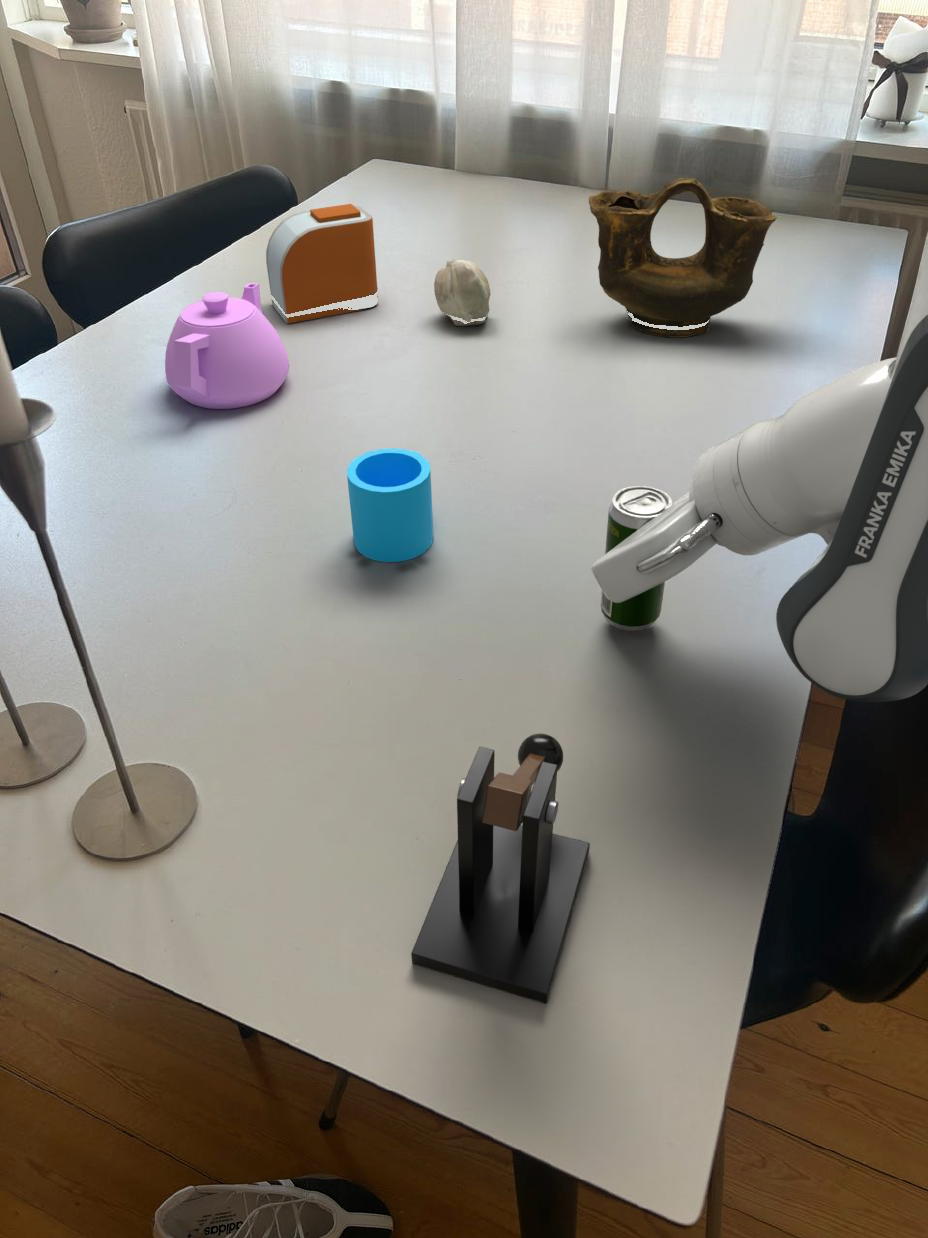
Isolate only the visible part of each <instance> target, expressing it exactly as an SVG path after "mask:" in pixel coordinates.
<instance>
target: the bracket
mask: <svg viewBox="0 0 928 1238" xmlns="http://www.w3.org/2000/svg"><path fill="white" fill-rule="evenodd" d="M557 769H558V765H555V764H551V763H547V762H542V763H541V766H540V769H539V772H538V774H537V777H536V780H535V782H534V784H533V785H532V788H531V794H530V797H529V800H528V803H527V805H526V808H525V811H524V814H523V822H522V824H521V825H520V827H519V828H518V830H517V831H513V830H509V829H505V828H501V827H498V826H494V825H490V824H486V823H482V818H483V812H484V805H485V799H486V793H487V787H488V785H489V784H490V783H491V781H492V780H493V779H494V778H495V749H492V748H488V747H484V746H479V747H478V749H477V751H476V753H475V755H474V758H473V760H472V763H471V764H470V767H469V770H468V772H467V775H466V777H465V778H462V779H461V780H460V783H459V786H458V790H457V794H456V795H457V796H456V811H457V812H456V817H457V818H456V820H457V840H456V843H455V845H454V847H453V850H452V853H451V855H450V858H449V860H448V862H447V865H446V867H445V870H444V871H443V872H444V873H443V875H442V878H441V880H440V882H439V885H438V887H437V890H436V892H435V894H434V897H433V899H432V901H431V904H430V906H429V909H428V911H427V914H426V916H425V919H424V920H423V923H422V925H421V928H420V931H419V934H418V936H417V938H416V941H415V942H414V945H413V948H412V951H411V953H410V956H411V957H410V958H411V964H412V965H415V966H418V967H422V968H426V969H429V970H432V971H436V972H439V973H443V974H446V975H448V976H452V977H456V978H459V979H462V980H466V981H469V982H472V983H475V984H479V985H482V986H485V987H489V988H493V989H496V990H498V991H502V992H505V993H508V994H512V995H515V996H519V997H522V998H525V999H529V1000H532V1001H536V1002H539V1003H542V1004H546V1005H547V1004H548V1001H549V998H550V994H551V990H552V987H553V982H554V980H555V976H556V972H557V968H558V966H559V962H560V958H561V954H562V951H563V947H564V945H565V940H566V936H567V934H568V929H569V926H570V922H571V919H572V915H573V912H574V907H575V904H576V901H577V897H578V894H579V889H580V886H581V883H582V879H583V876H584V872H585V868H586V864H587V861H588V858H589V854H590V846H591V843H590V842H588V841H583V840H580V839H576V838H571V837H569V836H564V835H560V834H557V833H554V832H553V831H554V824H555V822H556V819H557V815H558V810H559V801H557V800H556V796H557V795H556V794H557V782H558V781H557V779H558V772H557Z"/></svg>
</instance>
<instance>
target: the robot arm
mask: <svg viewBox="0 0 928 1238" xmlns="http://www.w3.org/2000/svg"><path fill="white" fill-rule="evenodd" d="M672 503H673V504H672V505H671V506H670V507H667V508H666V509H665V510H664V511H662V512H661V514H659V515H658V516H657V517H655V518H653V519H652V520H650V521H649V522H648V523H646V524H645V525H644V526H642V527H641V528H640V529H638V530H637V531H636V532H634V533H633V534H632V535H630V536H629V537H628V538H626V539H625V540H624V541H622V542H621V543H620V544H618V545H617V546H616V547H614V548H613V549H612V550H610V551H609V552H608V553H607V554H605V553H604V555H602V556H601V557H600V558H599V559H597V560H596V561H595V562H594V563H593V564H592V566H591V572H592V575H593V576H594V578H595V580H596V583H597V584H598V585H599V587H600V589H601V591H602V590H603V591H604V593H605V594H606V596H607V597H608V598H609V599H610V600H611V601H612V602H615V603H621V602H623V601H626V600H628V599H630V598H632V597H634V596H636V595H638V594H641V593H643V592H645V591H647V590H649V589H651V588H653V587H655V586H657V585H659V584H661V583H663V582H665V583H666V582H667V581H669V580H671V579H673V578H674V577H676V576H677V575H679V574H680V573H682V572H683V571H686V570H687V569H688V568H689V567H691V566H692V565H693V564H694V563H695V562H696V561H698V560H699V559H700V558H701V557H702V556H703V555H705V554H706V553H707V552H709V551H710V550H712V548H713V547H715V546H716V545H718V546H721V547H724V548H725V549H727V550H729V551H730V552H732V553H735V554H738V555H742V556H756V555H759V554H761V553H764V552H767V551H769V550H772V549H774V548H777V547H779V546H781V545H783V544H786V543H788V542H791V541H793V540H797V539H799V538H801V537H803V536H805V535H806V536H807V535H808V534H815V535H818V536H820V537H821V538H822V539H823V541H824V542H825V544H826V546H825V548H824V549H823V550H822V551H821V553H820V554H819V555H818V557H817V558H816V559H815V561H814V562H813V563H812V564H811V565H810V567H809V568H808V569H807V570H806V571H805V572H804V573H803V574H802V575H801V576H799V578H798V579H797V580H795V582H794V583H793V584H792V585H791V587H789V589H787V591H786V592H785V593H784V594H783V596H782V597H781V599H780V600H779V603H778V605H777V609H776V613H775V614H776V615H775V621H776V628H777V632H778V636H779V638H780V640H781V643H782V646H783V648H784V650H785V652H786V654H787V656H788V657H789V659H790V662H792V664H793V666H795V668H796V669H797V670H798V672H799V673H800V674H801V675H802V676H803V677H804V678H805V679H806V680H807V681H808V682H809V683H811V684H812V685H813V686H815V687H816V688H817V689H819V690H820V691H823V692H825V693H826V694H829V695H831V696H834V697H835V698H839V699H843V700H846V701H847V700H848V701H852V702H859V703H886V702H895V701H900V700H901V701H902V700H904V699H908V698H910V697H913V696H915V695H917V694H918V693H920V692H921V691H922V690H924V689H925V688H926V687H927V685H928V232H927V233H926V237H925V241H924V245H923V250H922V255H921V259H920V263H919V267H918V272H917V276H916V281H915V286H914V290H913V293H912V298H911V303H910V306H909V309H908V314H907V317H906V320H905V325H904V328H903V331H902V336H901V339H900V344H899V347H898V350H897V354H896V357H891V358H887V359H884V360H880V361H876V362H875V363H871V364H868V365H865V366H863V367H860V368H858V369H856V370H853V371H851V372H849V373H847V374H844V375H842V376H840V377H838V378H835V379H834V380H832V381H830V382H827V383H826V384H824V385H822V386H820V387H818V388H817V389H814V390H813V391H811V392H809V393H807V394H806V395H804V396H802V397H800V398H799V399H797V400H796V401H795V402H793V404H792V405H791V406H790V407H788V409H787V410H786V411H785V412H784V413H782V414H781V415H779V416H776V417H774V418H767V419H763V420H759V421H758V422H756V423H753V424H751V425H750V426H748V427H746V428H745V429H743V430H741V431H739V432H737V433H736V434H734V435H732V436H731V437H728V438H727V439H725V440H723V441H721V442H719V443H717V444H716V445H714V446H712V447H710V448H709V449H707V450H706V451H704V452H703V453H702V454H701V455H700V456H699V458H698V459H697V461H696V462H695V466H694V469H693V473H692V481H691V483H690V486H689V490H688V491H687V492H685V494H684V495H682V496H681V497H679V498H678V499H677V500H676V501H674V502H672Z"/></svg>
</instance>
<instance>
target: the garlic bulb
mask: <svg viewBox="0 0 928 1238" xmlns="http://www.w3.org/2000/svg"><path fill="white" fill-rule="evenodd" d="M433 290H434V297H435V300H436V305H437V306H438V308H439V311H440V312H441V313H443V312H444V313H446V314H448V315H451V316H454V317H458V318H462V319H463V320H465V321H467V322H470V321H471V319H478V318H483V317H486V316H487V318H489V313H490V304H489V303H490V297H491V287H490V283H489V279H488V278H487V276H486V275H485V272H484V271H483V270H482V269H481V268H480V267H479V266H478V265H477V264H475V263H474V262H472V261H470V260H465V259H457V260H456V259H454V258H451V259H448V260H447V261H446V264H445V265H444V266H442V267H441V268H440V269H439V270H438V271H437V272H436V274H435V277H434V281H433ZM444 313H443V314H444ZM446 314H445V315H446ZM447 317H448V318H449V319H451V318H450V317H449V316H447ZM451 321H452V322H453V325H454V326H458V327H467V326H469V327H470V326H477V325H482V324H484V323H486V321H487V319H486V320H483V321H474V322H470V323H467V324H464V323H463V322H461V321H457V320H452V319H451Z"/></svg>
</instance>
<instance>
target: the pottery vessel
mask: <svg viewBox="0 0 928 1238" xmlns="http://www.w3.org/2000/svg"><path fill="white" fill-rule="evenodd" d="M684 192H691V193H693V194H694V195H695V196H696V197H697V199H698V201H699V202H700V204H701V206H702V208H703V212H704V221H705V223H704V224H705V237H704V242H703V243H704V244H703V245H702V247H701V248H700V249H699V250H698V252H696V253H694V254H692V255H688V256H685V257H677V258H675V257H665V256H662V255H660V254H658V253H657V252H656V251H655V249H654V248H653V245H652V239H651V238H652V237H651V236H652V235H651V234H652V229H653V223H654V220H655V219H656V217H657V215H658V214H659V212H660V210H661V208H662V207H663V206H664V205H665V204H666V203H667V202H668V201H669V200H670V199H671V198H672V197H674V196H676V195H680V194H682V193H684ZM588 205H589V210H590V213H591V214H592V215H593V216H594V217H595V219H596V222H597V226H598V237H597V241H598V247H599V249H600V254H599V262H598V266H597V270H598V277H599V278H598V279H599V285H600V287H601V288H602V290H603V292H604V293H605V294H606V295H607V297H608V298H610V299H612V300H613V301H615V302H617V303H618V304H620V305H621V306H622V307H624V309H625V310H626V312H627V311H628V312H630V313H632V314H633V316H634V318H637V319H639V320H641V321H643V322H647V323H649V324H654V325H666V326H678V327H683V326H689V325H698V324H702V323H705V322H707V321H708V320H709V319H710V321H709V323H707V324H706V325H705V326H702V327H699V328H695V329H689V330H667V329H659V328H653V327H649V326H645V325H642V324H639V323H637V322H634V321H632V318H631V317H630V316H629V315H628V314H627V317H628V318H630V325H631V326H632V327H633V328H635V329H637V330H639V331H641V332H642V333H645V334H648V335H653V336H657V337H664V338H665V337H667V338H688V337H692V336H696V335H697V336H698V335H702V334H704V333H707V332H708V331H709V329H710V323H711V317H713V316H716V315H718V314H720V313H722V312H724V311H726V310H727V309H730V308H731V307H733V306H734V305H736V304H738V303H740V302H742V300H744V299H746V296H747V295H748V293H749V291H750V289H751V287H752V286H753V282H754V271H755V267H756V264H757V261H758V259H759V256H760V253H761V252H762V249H763V247H764V245H765V244H764V242H765V239H766V236H767V233H768V231H769V229H770V227H771V226H772V224H773V223H774V222H776V220H777V219H778V216H777V215H773V211H774V209H772V208H770V209H769V208H768V207H766V206H764V205H761V203H759V202H758V201H756V200H752V199H751V198H746V197H745V198H743V197H737V196H722V197H711V193H710V192H709V190H708V189H706V188H705V187H704V186H703V184H702V182H700V181H698V179H697V178H687V177H679V178H677V179H675V180H674V181H671V182H669V183H666V184H665V185H664V186H663V187H662V188H661V189H660V190H659V191H656V192H653V193H649V194H644V193H642V192H640V191H639V192H636V191H634V190H620V191H617V190H602V191H600V192H598V193H597V194H595V195H594V194H593V195H591V196H589V197H588ZM628 312H627V313H628Z"/></svg>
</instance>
